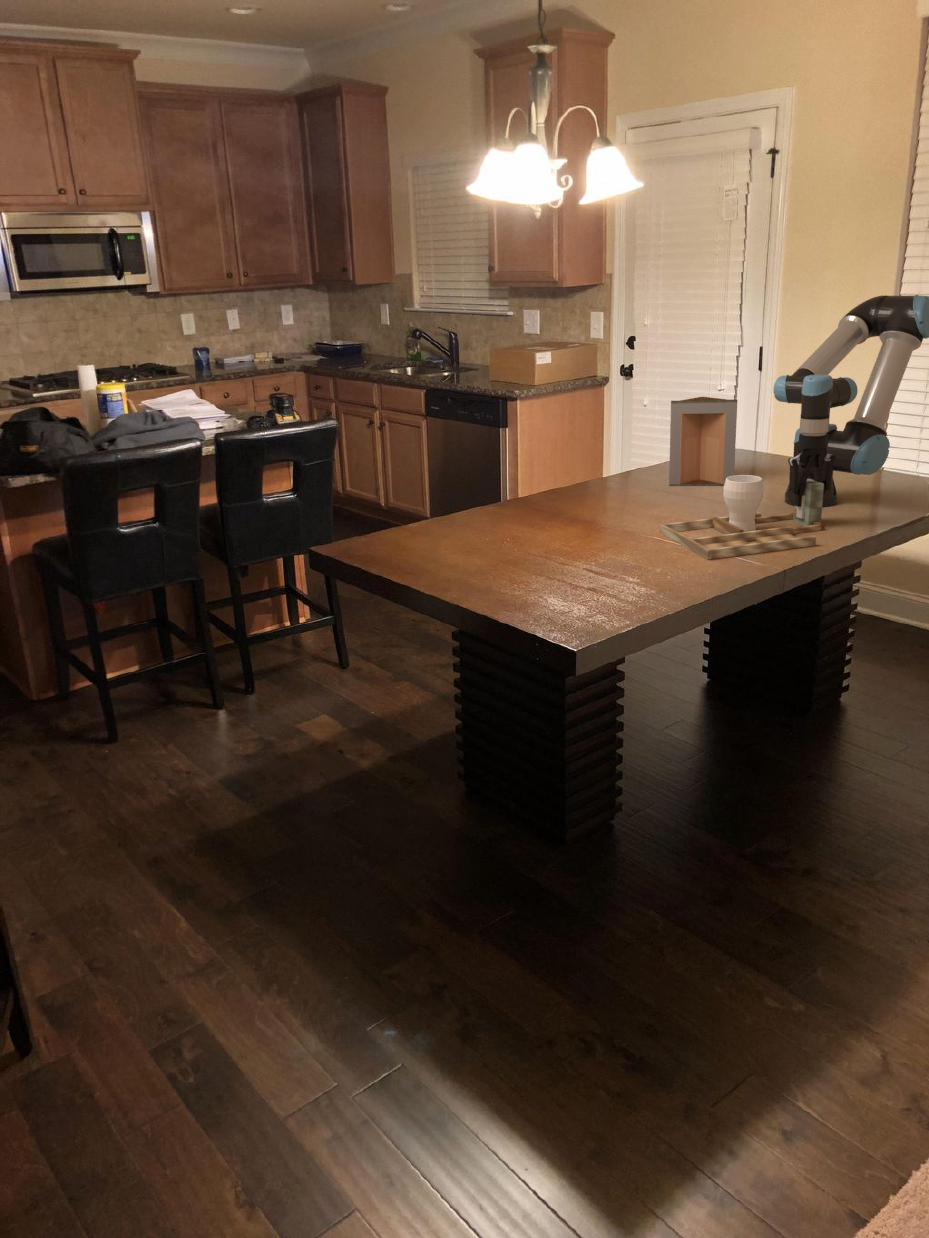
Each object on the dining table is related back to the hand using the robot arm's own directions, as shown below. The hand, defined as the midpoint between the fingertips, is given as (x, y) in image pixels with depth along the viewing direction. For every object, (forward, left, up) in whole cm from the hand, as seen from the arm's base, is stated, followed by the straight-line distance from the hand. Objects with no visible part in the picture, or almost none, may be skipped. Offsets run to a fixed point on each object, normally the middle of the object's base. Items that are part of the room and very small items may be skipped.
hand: (807, 516), depth 274 cm
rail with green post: (+12, 0, -2) cm, 13 cm away
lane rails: (+25, +5, -2) cm, 26 cm away
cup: (+20, 0, -2) cm, 21 cm away
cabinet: (+2, -60, -2) cm, 60 cm away
